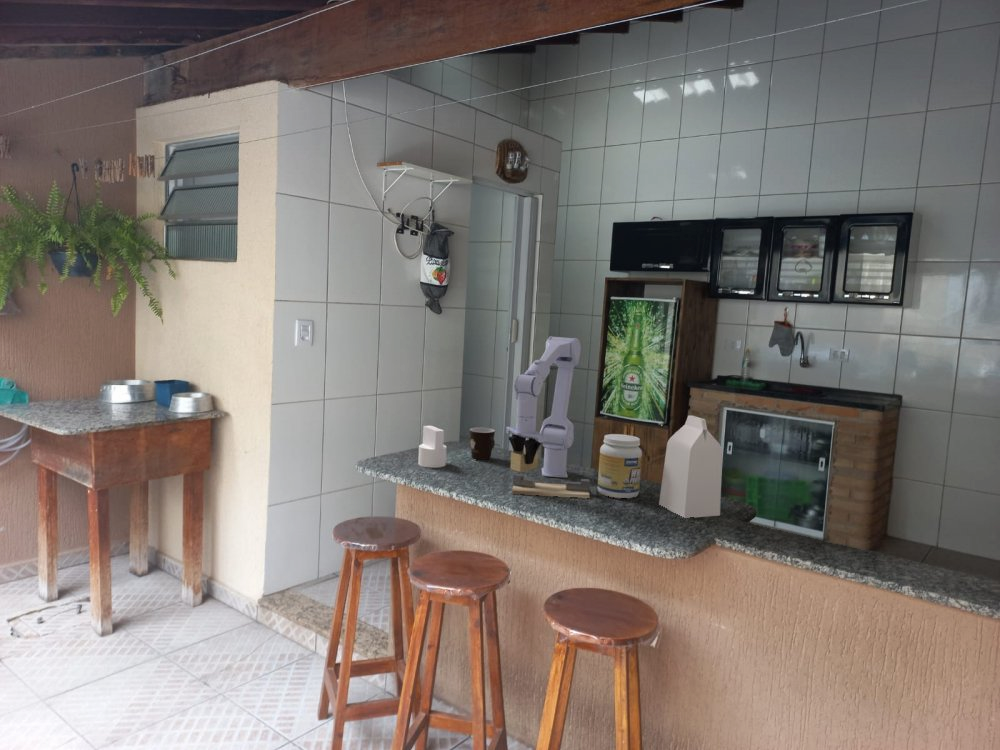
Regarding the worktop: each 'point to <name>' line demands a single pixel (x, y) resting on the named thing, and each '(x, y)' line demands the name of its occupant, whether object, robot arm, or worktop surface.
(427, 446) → the base with upright slab
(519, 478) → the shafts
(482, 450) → the coffee mug
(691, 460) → the milk
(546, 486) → the wooden board
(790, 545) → the worktop surface
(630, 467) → the supplement tub
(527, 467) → the gold rectangular block
